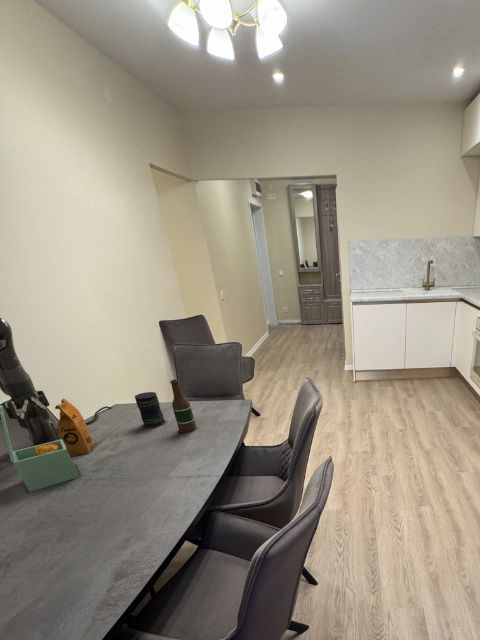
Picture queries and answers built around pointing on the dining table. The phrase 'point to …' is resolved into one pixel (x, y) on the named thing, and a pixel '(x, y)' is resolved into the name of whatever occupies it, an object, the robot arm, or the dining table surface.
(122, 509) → the dining table surface
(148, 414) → the dark barrel
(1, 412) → the lid
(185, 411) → the beer bottle
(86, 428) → the coffee package
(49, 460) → the cool box
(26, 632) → the dining table surface
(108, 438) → the dining table surface
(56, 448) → the french fries
